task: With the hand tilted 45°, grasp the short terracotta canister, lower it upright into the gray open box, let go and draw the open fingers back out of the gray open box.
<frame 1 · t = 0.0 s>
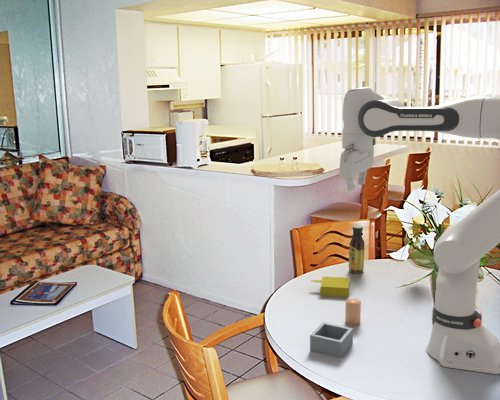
hand: (356, 187, 168), 48 cm above the table, tool pointing down, fingers open, 8 cm apart
yellow box with tab: (330, 292, 213), on the table
cup: (413, 278, 223), on the table
canister: (352, 322, 186), on the table
gray open box: (331, 346, 170), on the table
sauce bottle: (356, 271, 232), on the table
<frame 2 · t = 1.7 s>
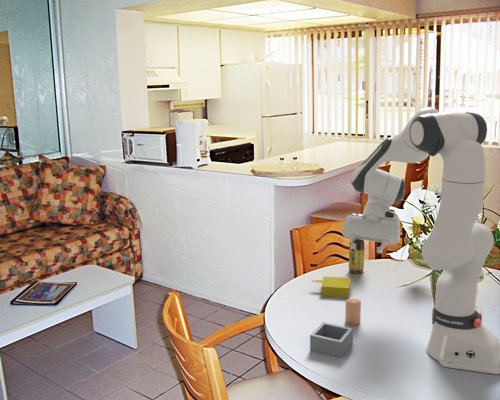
hand: (365, 250, 191), 22 cm above the table, tool tilted 45°, fingers open, 8 cm apart
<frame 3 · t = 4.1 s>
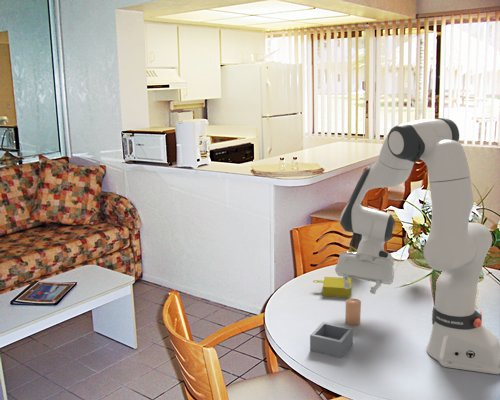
hand: (359, 290, 188), 9 cm above the table, tool tilted 45°, fingers open, 8 cm apart
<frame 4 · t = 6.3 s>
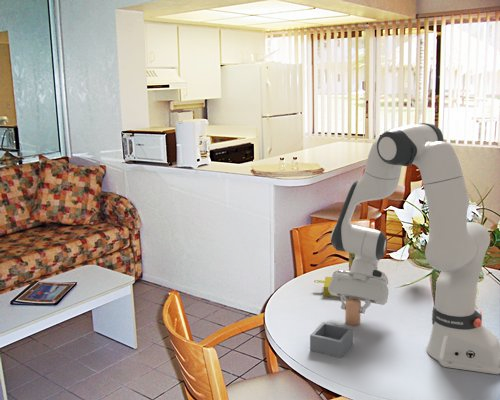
hand: (352, 310, 184), 4 cm above the table, tool tilted 45°, fingers closed on canister, 5 cm apart
canister: (352, 322, 186), on the table, touching gripper
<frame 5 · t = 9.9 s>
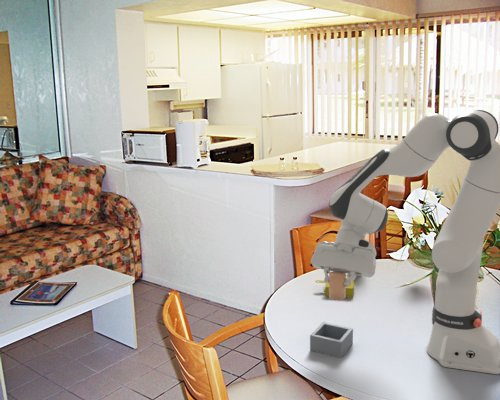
hand: (336, 284, 168), 19 cm above the table, tool tilted 45°, fingers closed on canister, 5 cm apart
canister: (337, 296, 170), point 15 cm above the table, touching gripper
when the fingers open (7 cm above the table, at t = 13.8 s): canister drops 1 cm, resting on gray open box.
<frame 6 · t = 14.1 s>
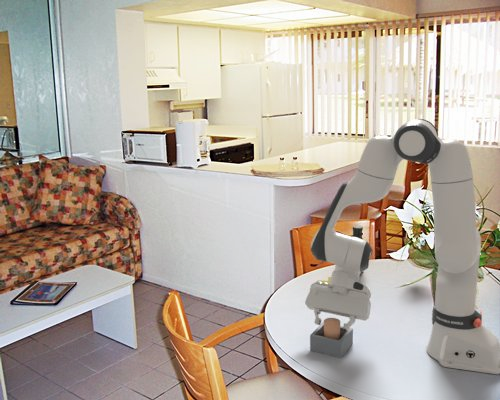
hand: (331, 327, 168), 7 cm above the table, tool tilted 45°, fingers open, 8 cm apart
canister: (331, 343, 169), point 1 cm above the table, touching gray open box
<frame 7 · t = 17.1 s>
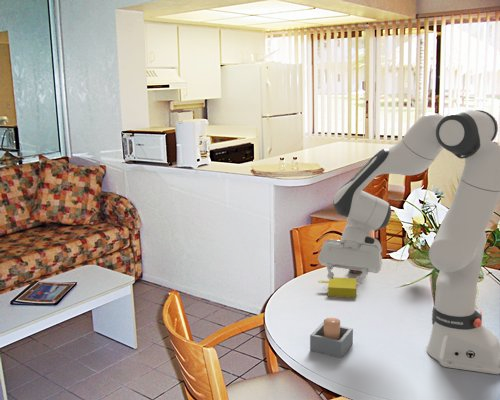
hand: (343, 280, 173), 19 cm above the table, tool tilted 45°, fingers open, 8 cm apart
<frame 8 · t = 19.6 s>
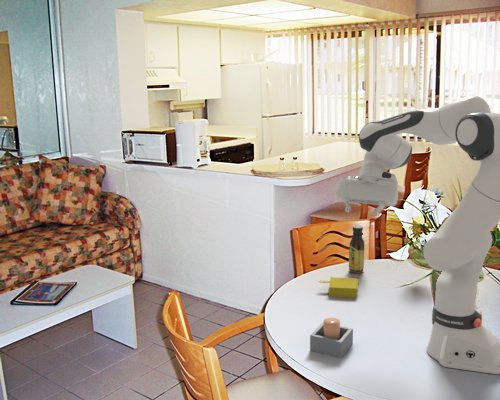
hand: (361, 213, 179), 37 cm above the table, tool tilted 45°, fingers open, 8 cm apart
at the end: canister 0.1 cm off-centre on the gray open box, point 1.0 cm above the gray open box's base; canister tilted 1°; the gripper is holding nothing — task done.
